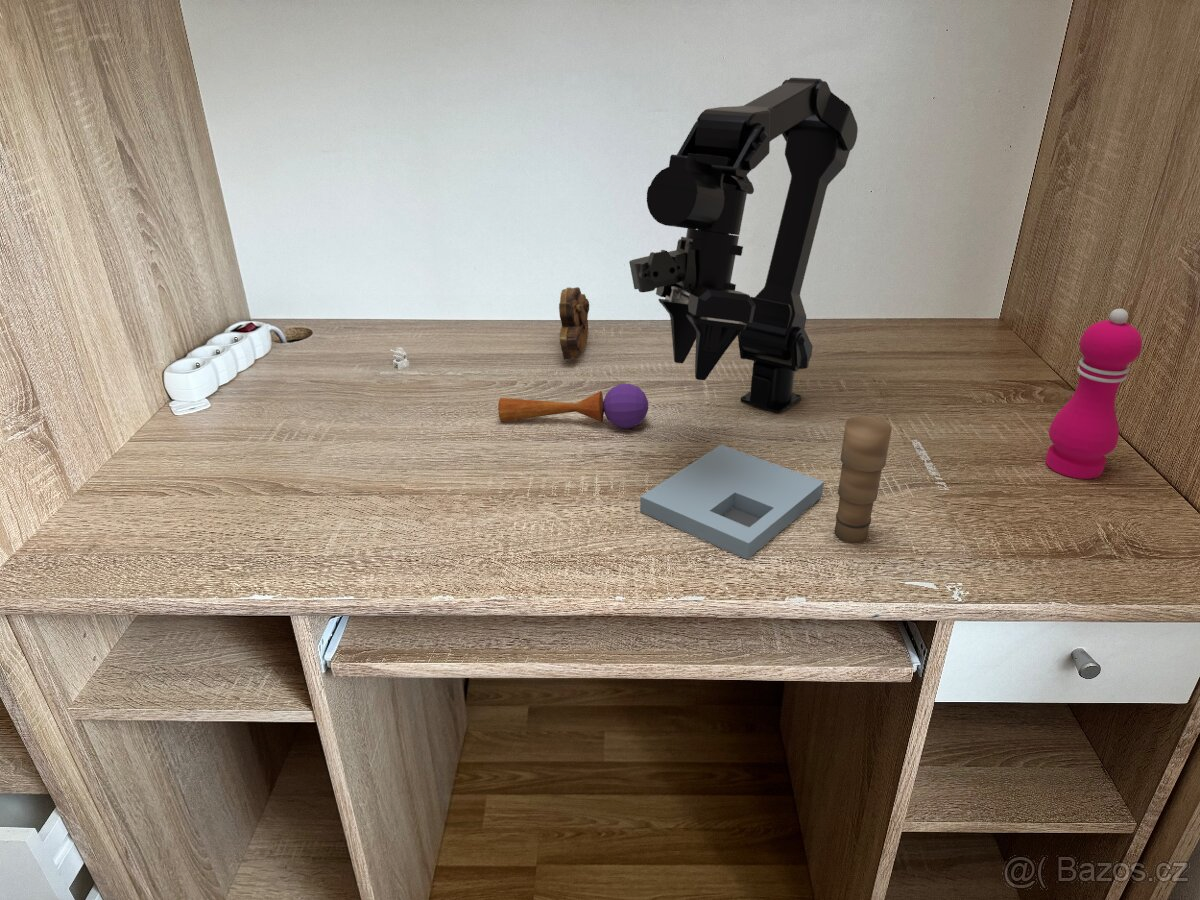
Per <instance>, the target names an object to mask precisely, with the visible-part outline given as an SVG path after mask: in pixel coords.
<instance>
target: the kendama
mask: <svg viewBox="0 0 1200 900" xmlns="http://www.w3.org/2000/svg"><path fill="white" fill-rule="evenodd" d="M497 410H498V411H497V412H498V417H499V421H500V422H501V423H505V422H510V421H517V420H518V421H519V420H524V419H532V418H539V417H546V416H554V415H560V414H561V415H562V414H568V413H575V412H576V413H579V414H581V415H583V416H585V417H588V418H590V419H593V420H595V421H598V422H600V423H603V421H604V416H605V418H606V420H607V421H608V422H609V423H610V424H611V425H612V426H614V427H618V428H620V429H631V428H634V427H636V426H638V425H640V424H641V422H643V421H644V420H645V418H646V417H647V413H648V411H649V400H648V398H647V396H646V393H645V391H643V390H642V389H641V388H640V387H639V386H638V385H636V384H632V383H618V384H617V385H616V386H613V387H611V388H610V389H609V390H608V391H607V392H606V394H605V396H604V395H603V392H602V390H601V391H598V392H596V393H594V394H592V395H590V396H588V397H586V398H584V399H581V400H580V401H577V402H576V403H573V402H562V401H561V402H560V401H549V400H534V399H523V398H512V397H511V398H509V397H500V398H499V400H498V406H497Z"/></svg>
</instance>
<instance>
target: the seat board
mask: <svg viewBox="0 0 1200 900" xmlns="http://www.w3.org/2000/svg"><path fill="white" fill-rule="evenodd" d="M824 485H825V481H823V480H820V479H818V478H815V477H811V475H806V474H804V473H801V472H798V471H795V470H793V469H789V468H787V467H783V466H781V465H779V464H775V463H773V462H770V461H767V460H765V459H762V458H759V457H757V456H753V455H751V454H748V453H745V452H742V451H739V450H738V449H733V448H731V447H729V446H726V445H723V444H719V445H718V446H716V448H714V449H712V450H710V451H709V452H707V453H706V454H704V455H703V456H701V457H699V458H698V459H697V460H695V461H694V462H692V463H691V464H689V465H687V466H685V467H683V469H681V470H679V471H678V472H676V473H674V474H673V475H671V476H670V477H668V478H667V479H665V480H663V481H662V482H661V483H659V484H658V485H656V486H654V487H653V488H651V489H650V490H648V491H647V492H645V493H644V494H642V495H641V496H640V501H639V502H640V503H639V504H640V505H639V512H640V513H642V514H645V515H647V516H649V517H651V518H653V519H655V520H658V521H660V522H662V523H664V524H666V525H668V526H670V527H674V528H675V529H678V530H680V531H683V532H685V533H687V534H690V535H691V536H693V537H696V538H698V539H701V540H702V541H705V542H706V543H709V544H711V545H714V546H716V547H718V548H721V549H723V550H725V551H727V552H730V553H732V554H734V555H735V556H738V557H741V558H743V559H746V560H748V559H750V558H751V557H753V555H754V554H756V553H757V552H758V551H759V550H761V549H762V548H763V547H764V546H765V545H767V544H768V543H769V542H770V541H771V540H773V539H774V538H775V537H776V536H777V535H779V534H780V533H781V532H782V531H783V530H784V529H785V528H787V527H788V526H790V524H791V523H792V522H793V521H795V520H796V519H797V518H799V517H800V516H801V515H802V514H804V513H805V512H806V511H807V510H808V509H809V508H811V506H813V505H814V504H815V503H816V502H817V501H819V500H820V499H821V498H823V494H824V493H823V492H824Z"/></svg>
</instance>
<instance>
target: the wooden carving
mask: <svg viewBox="0 0 1200 900" xmlns="http://www.w3.org/2000/svg"><path fill="white" fill-rule="evenodd" d="M558 309H559V310H558V311H559V319H560V322H561V328H560V331H559V344H560V348H561V352H562V357H563V360H571V359H578V358H579V352H581V351H582V352H583V351H584V350H585V349H586V346H587V342H588V337H589V335H588V334H589V320H588V317H589V311H590V301H589V299H588V298H587V296H586V295H585V294H584V293H582V292H581V288H580V287H566V288H565V289H562V290H561V292H560V299H559V303H558Z"/></svg>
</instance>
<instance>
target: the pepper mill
mask: <svg viewBox="0 0 1200 900" xmlns="http://www.w3.org/2000/svg"><path fill="white" fill-rule="evenodd" d="M1108 319H1109V320H1105V319H1104V320H1101V321H1097V322H1094V323H1093V324H1091V325H1090V326H1089V327H1087V328H1086V329H1085V330H1084V332H1083V334H1082V335H1081V337H1080V340H1079V350H1080V352H1081V354H1082V356H1083V357H1081V358H1080V359H1079V362H1078V364H1079V365H1078V366H1077V373H1078V374H1079V379H1078V383H1077V386H1076V388H1075V391H1074V393H1073V395H1072V396H1071V397H1070V399H1069V400H1068V401H1067V402H1066V404H1065V405H1064V406H1063V407H1061V408H1060V410H1059V411H1058V412H1057V413H1056V415H1055V417H1054V418H1053V420H1052V421H1051V424H1050V426H1049V429H1048V435H1049V439H1050V440H1051V441H1050V442H1051V443H1052V444H1051V445H1050V446H1049V447H1048V449H1047V452H1046V456H1045V464H1046V465H1047V466H1048V468H1050V469H1051V471H1054V472H1056V473H1058V474H1060V475H1062V476H1065V477H1069V478H1074V479H1080V480H1090V479H1096V478H1099V477H1100V476H1101V475H1102V474H1103V472H1104V470H1105V467H1106V463H1107V458H1106V456H1107V455H1109V454H1110V453H1111V452H1113V451H1114V450H1115V449H1116V447H1117V445H1118V440H1119V436H1120V429H1119V422H1118V418H1117V415H1116V406H1115V405H1116V396H1117V393H1118V390H1119V387H1120V385H1121V383H1122V382H1124V381H1125V380H1127V378H1128V373H1129V372H1130V366H1129V364H1130V363H1133V362H1134V361H1135V360H1136V359H1137V358H1138V357H1139V356H1140V353H1141V351H1142V347H1143V339H1142V336H1141V333H1140V332H1139V330H1138V329H1136V328H1135V327H1134V326H1133V325H1131V324H1129V323H1127V321H1128V319H1129V313H1128V311H1127V310H1125V309H1124V308H1116V309H1114V310H1112V311H1111V312H1110V314H1109V317H1108Z"/></svg>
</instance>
